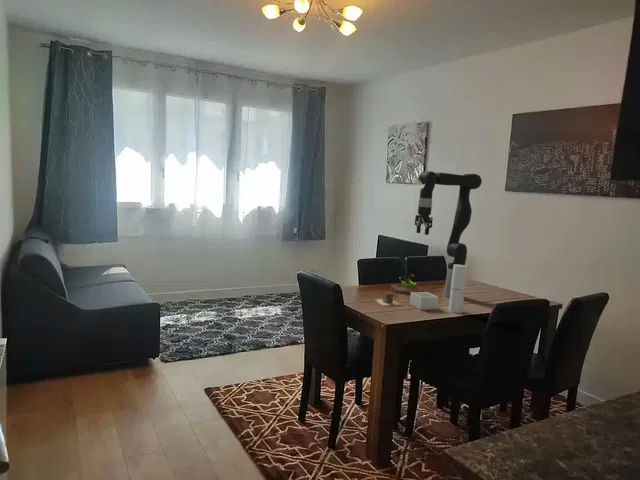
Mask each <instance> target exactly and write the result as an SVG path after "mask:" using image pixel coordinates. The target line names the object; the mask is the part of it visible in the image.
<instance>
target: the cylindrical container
mask: <svg viewBox="0 0 640 480" xmlns="http://www.w3.org/2000/svg"><path fill="white" fill-rule="evenodd" d="M467 272H468V265H466V264H465V265H459V264H454V265H453V274H452V284H451V293H450V297H449V302H448V303H449V304H448V312H451V313H453V314H462V313H463V310H464V301H465V293H466V282H467Z"/></svg>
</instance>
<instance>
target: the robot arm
mask: <svg viewBox="0 0 640 480" xmlns="http://www.w3.org/2000/svg"><path fill="white" fill-rule="evenodd" d="M418 180H419V182H420V183H422V184H424V186H423V187H421V188H420V191H419V200H418V207H417V214H416V215H415V218H414V226H416V233H417V234H421V228H422V227H421V226H422V225H423V226H424V227H425V229H424V235H425V236H429V235H430V229H431V228H432V227H433V217H430V215H432V207H433V206H432V205H433V192H434V190H435V186H436V185H440V186H459V190H458V191H459V192H458V198H457V205H456V209H455V213H454V218H453V225H452V228H451V233H450V236H449V239H448V243H447V246H446V253H447V255H448V256H449V257H451V258H453V261H452V262H448V264H447V270H446V279H445V280H446V281H445V291H444V296H445V297H448V298H450V293H451V284H452V274H453V265H454V264H459V265H465V266H466V261H467V255H468V247H467V245H466V244H465V243H461V242H460V239H461V236H462V234H463V232H464V231H465V230H466V229H467V228H468V226H469V224H470V222H471V218H472V211H473V210H472V206H471V202H470V195H471V190H477V189H478V188H480V187H481V185H482V182H483V181H482V177H481V176H480V175H479V174H477V173H465V174H456V173H449V172H448V173H447V172H435V171H431V170H430V171H426V170H425V171H422V172H421V173H420V174H419V175H418Z"/></svg>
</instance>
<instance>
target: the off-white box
mask: <svg viewBox="0 0 640 480" xmlns="http://www.w3.org/2000/svg"><path fill="white" fill-rule="evenodd" d="M438 300H439V296H438V295H435V294H433V293H430V292H428V291H424V292H411V294H410V295H409V306H410V307H411V306H412V307H413V308H415V309H417V310H420V311H428V310H429V311H430V310H431V311H432V310H437V309H438V302H439V301H438Z"/></svg>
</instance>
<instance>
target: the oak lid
mask: <svg viewBox="0 0 640 480" xmlns="http://www.w3.org/2000/svg"><path fill="white" fill-rule="evenodd" d="M382 296H383V297H382V298H380V299H373V300H372V301H373V302H375V303H377V304H379V305H381V306H383V307H393V306H398V305H399V306H403V304H402V303H400V302H399V301H396V300H395V299H394V293H392V292H383V295H382Z"/></svg>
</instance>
